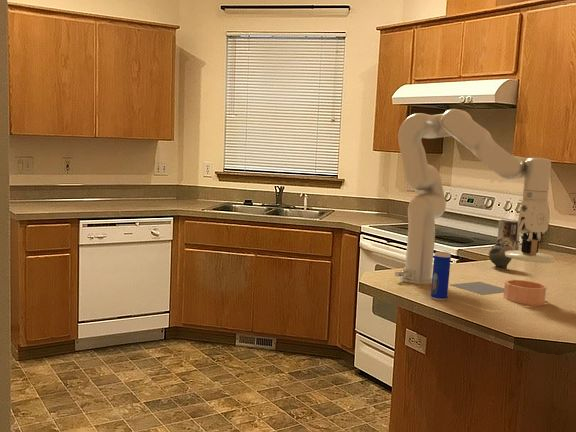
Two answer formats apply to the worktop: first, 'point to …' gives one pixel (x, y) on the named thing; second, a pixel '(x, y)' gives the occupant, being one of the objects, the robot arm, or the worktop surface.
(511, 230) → the coffee box
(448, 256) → the beverage can
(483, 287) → the mat
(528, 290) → the bowl
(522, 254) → the lid
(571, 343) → the worktop surface
